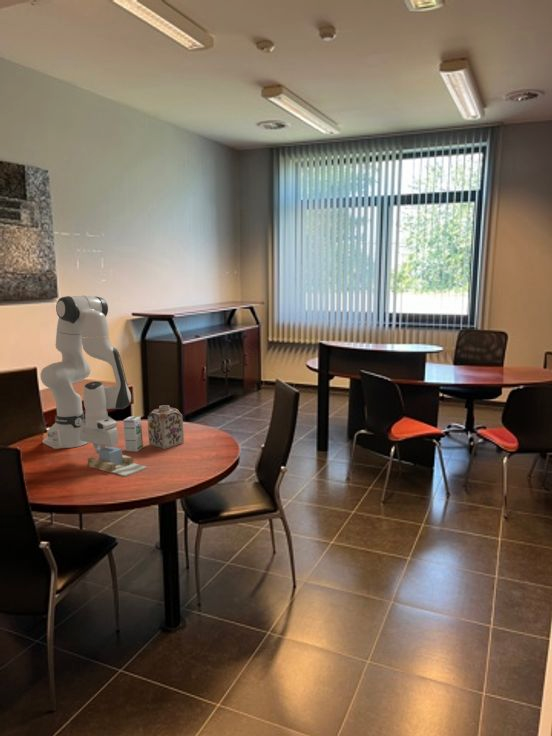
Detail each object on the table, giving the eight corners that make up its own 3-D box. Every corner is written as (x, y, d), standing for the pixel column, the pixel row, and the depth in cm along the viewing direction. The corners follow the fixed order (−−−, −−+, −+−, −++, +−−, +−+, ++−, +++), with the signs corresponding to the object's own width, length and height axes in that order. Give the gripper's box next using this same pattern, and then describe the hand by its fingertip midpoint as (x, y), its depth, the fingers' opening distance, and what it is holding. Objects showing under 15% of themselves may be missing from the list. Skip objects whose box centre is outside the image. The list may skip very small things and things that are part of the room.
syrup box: (137, 451, 235) (135, 419, 232) (125, 451, 236) (122, 419, 233) (143, 447, 240) (141, 416, 238) (131, 447, 241) (128, 416, 239)
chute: (87, 465, 218) (87, 458, 217) (109, 458, 227) (109, 451, 226) (125, 476, 205) (124, 469, 205) (147, 468, 214) (146, 460, 214)
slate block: (99, 464, 217) (98, 450, 216) (111, 460, 222) (110, 446, 221) (110, 467, 214) (109, 453, 212) (122, 463, 218) (121, 449, 217)
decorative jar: (164, 449, 236) (161, 410, 233) (148, 444, 244) (145, 406, 241) (185, 443, 245) (183, 405, 242) (169, 438, 253) (167, 401, 250)
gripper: (74, 420, 223) (77, 452, 225) (107, 426, 212) (110, 459, 214) (87, 417, 228) (90, 448, 231) (119, 422, 217) (122, 454, 220)
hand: (100, 453), depth 222 cm, fingers closed
